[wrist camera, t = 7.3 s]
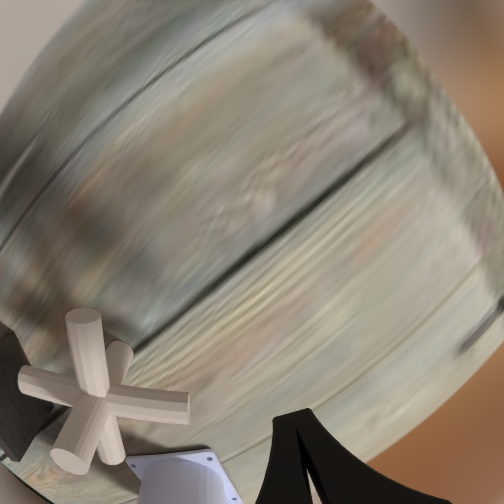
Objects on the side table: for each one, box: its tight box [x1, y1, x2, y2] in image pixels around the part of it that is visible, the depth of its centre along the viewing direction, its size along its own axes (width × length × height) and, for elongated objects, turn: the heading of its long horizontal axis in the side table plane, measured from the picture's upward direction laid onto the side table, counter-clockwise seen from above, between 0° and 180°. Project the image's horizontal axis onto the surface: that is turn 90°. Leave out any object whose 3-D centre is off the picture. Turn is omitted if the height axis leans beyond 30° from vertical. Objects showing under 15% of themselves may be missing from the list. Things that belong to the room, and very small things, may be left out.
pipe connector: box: [18, 308, 190, 475], centre depth 14 cm, size 10×10×10 cm
